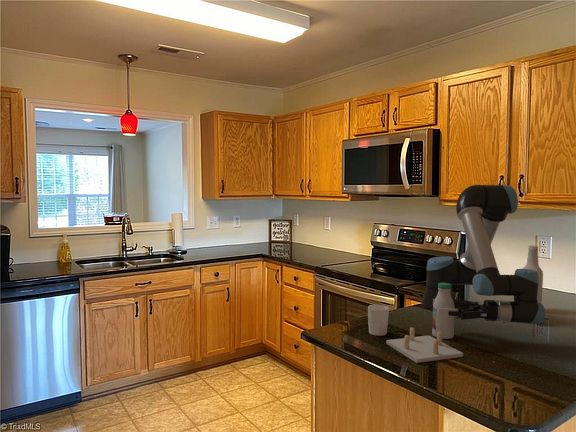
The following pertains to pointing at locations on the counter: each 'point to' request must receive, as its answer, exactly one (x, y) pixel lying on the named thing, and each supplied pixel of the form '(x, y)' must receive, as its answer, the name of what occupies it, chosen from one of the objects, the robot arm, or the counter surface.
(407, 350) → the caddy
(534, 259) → the alcohol
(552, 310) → the counter surface
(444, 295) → the milk bottle
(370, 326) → the white cup
